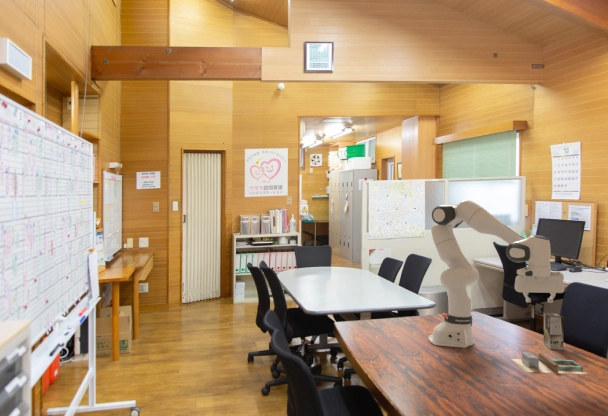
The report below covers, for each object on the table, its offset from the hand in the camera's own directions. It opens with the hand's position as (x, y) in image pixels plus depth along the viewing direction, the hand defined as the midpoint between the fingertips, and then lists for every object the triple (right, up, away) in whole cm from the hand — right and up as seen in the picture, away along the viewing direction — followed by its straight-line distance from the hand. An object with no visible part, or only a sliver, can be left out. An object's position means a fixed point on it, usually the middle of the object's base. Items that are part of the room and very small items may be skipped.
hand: (539, 302), depth 192 cm
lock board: (+1, -28, -5) cm, 28 cm away
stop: (-6, -27, -4) cm, 28 cm away
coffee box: (+19, -27, +23) cm, 41 cm away
